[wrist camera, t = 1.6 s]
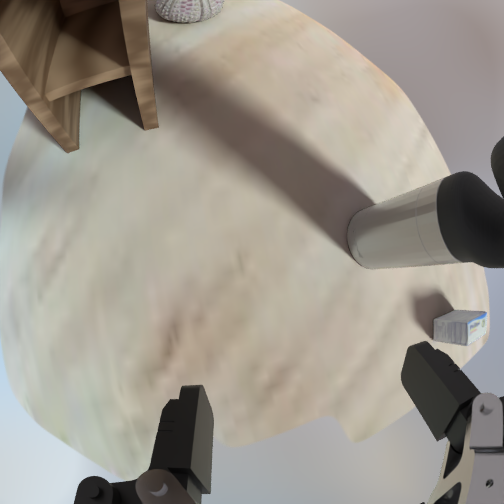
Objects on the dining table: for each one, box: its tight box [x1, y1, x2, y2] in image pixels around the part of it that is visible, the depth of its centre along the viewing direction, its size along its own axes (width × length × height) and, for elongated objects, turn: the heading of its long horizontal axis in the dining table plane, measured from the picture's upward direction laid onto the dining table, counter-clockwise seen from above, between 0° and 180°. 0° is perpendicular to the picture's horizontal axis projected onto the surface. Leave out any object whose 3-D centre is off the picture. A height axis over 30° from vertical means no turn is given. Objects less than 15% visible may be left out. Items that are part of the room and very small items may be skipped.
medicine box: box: [433, 310, 487, 346], centre depth 38 cm, size 8×4×9 cm, turn 95°
